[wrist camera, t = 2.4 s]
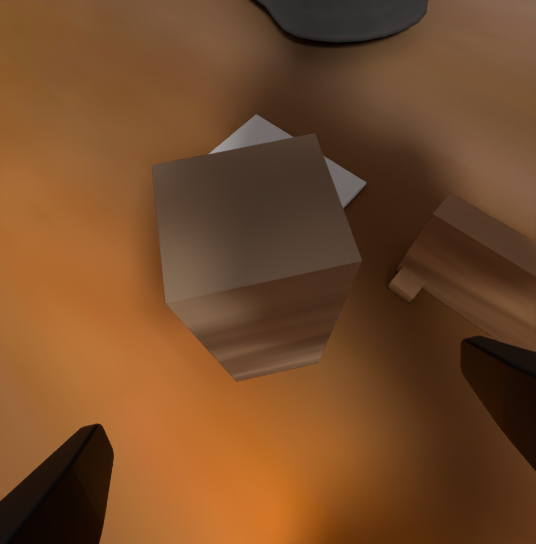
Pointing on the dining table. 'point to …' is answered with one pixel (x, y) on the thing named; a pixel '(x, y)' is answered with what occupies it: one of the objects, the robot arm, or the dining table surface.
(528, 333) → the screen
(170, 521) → the dining table surface
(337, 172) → the felt mat
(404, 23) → the casserole
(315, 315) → the plain brown block
